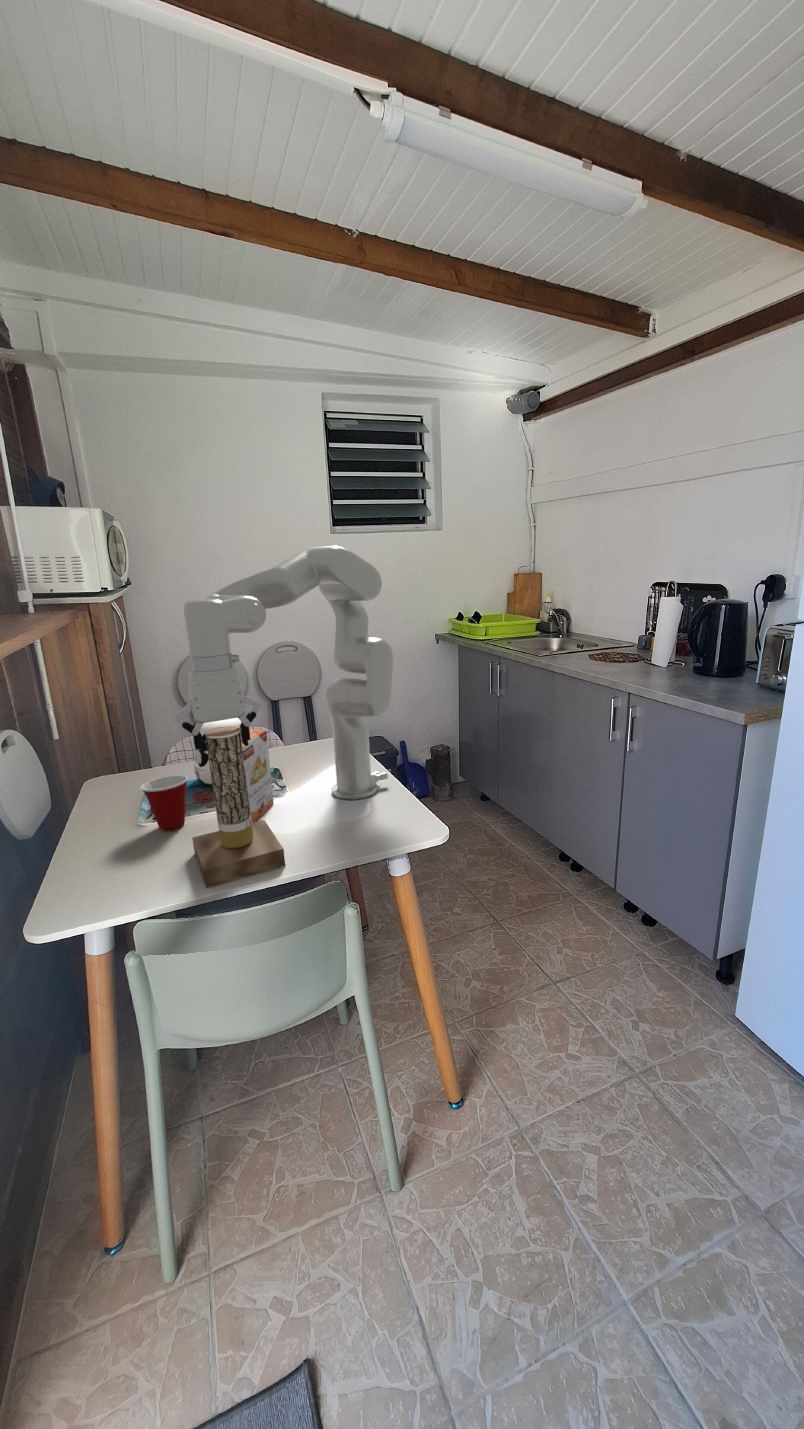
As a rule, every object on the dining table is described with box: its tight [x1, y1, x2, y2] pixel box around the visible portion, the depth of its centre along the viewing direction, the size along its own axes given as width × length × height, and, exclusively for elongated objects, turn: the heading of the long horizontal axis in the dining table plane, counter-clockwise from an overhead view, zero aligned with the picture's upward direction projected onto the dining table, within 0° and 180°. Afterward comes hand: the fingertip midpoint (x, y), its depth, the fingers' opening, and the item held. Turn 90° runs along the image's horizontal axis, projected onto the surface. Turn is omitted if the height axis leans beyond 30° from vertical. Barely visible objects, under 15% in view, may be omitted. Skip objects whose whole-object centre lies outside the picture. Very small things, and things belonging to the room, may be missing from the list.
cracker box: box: [241, 729, 274, 823], centre depth 139 cm, size 14×6×21 cm, turn 168°
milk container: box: [192, 718, 241, 787], centre depth 165 cm, size 17×17×18 cm
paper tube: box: [205, 726, 253, 849], centre depth 116 cm, size 7×7×25 cm
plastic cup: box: [139, 774, 189, 832], centre depth 136 cm, size 11×11×12 cm
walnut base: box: [191, 819, 286, 889], centre depth 120 cm, size 16×16×4 cm
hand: (223, 747), depth 113 cm, fingers open, 8 cm apart
